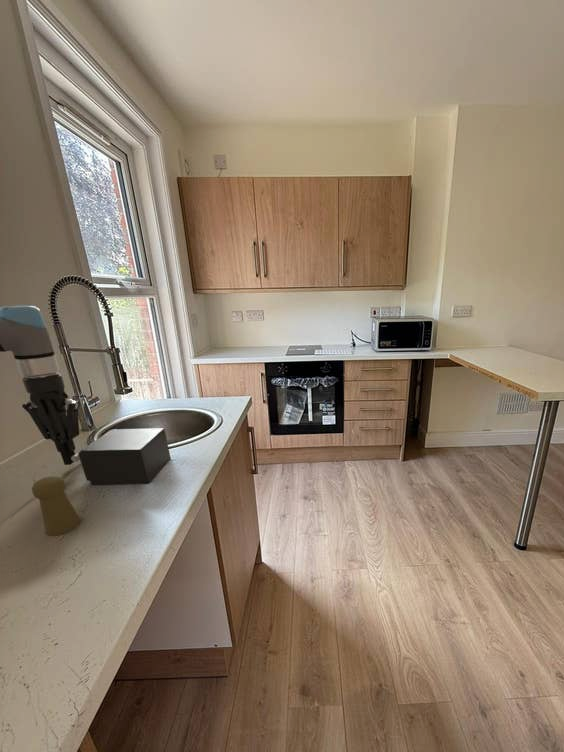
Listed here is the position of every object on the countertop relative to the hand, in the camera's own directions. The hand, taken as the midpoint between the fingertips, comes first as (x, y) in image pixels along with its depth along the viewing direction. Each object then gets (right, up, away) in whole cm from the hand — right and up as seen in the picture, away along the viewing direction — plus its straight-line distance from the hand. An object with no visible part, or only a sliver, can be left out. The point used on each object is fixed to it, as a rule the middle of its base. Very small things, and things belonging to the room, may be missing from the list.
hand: (70, 462), depth 92 cm
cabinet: (+16, -3, +1) cm, 16 cm away
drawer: (+12, -2, +1) cm, 12 cm away
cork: (+13, -12, -20) cm, 26 cm away
